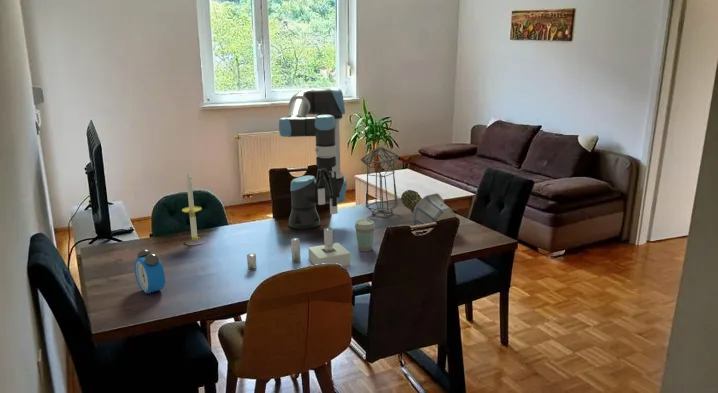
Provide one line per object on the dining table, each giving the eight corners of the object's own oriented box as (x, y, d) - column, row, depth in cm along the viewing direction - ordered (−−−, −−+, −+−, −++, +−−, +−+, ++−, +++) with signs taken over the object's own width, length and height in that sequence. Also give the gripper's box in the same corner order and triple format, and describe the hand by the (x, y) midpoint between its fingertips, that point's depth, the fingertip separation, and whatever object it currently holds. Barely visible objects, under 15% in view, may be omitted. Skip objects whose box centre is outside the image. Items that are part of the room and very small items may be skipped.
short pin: (247, 268, 222) (246, 254, 220) (255, 267, 223) (254, 252, 221) (249, 271, 219) (247, 257, 217) (257, 270, 220) (256, 255, 218)
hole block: (308, 259, 230) (308, 247, 229) (338, 253, 235) (338, 242, 234) (319, 270, 219) (319, 258, 217) (350, 264, 224) (350, 253, 222)
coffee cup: (373, 253, 236) (373, 225, 232) (353, 251, 237) (352, 224, 234) (376, 245, 244) (376, 219, 240) (357, 244, 245) (356, 218, 242)
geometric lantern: (387, 221, 276) (385, 151, 267) (360, 216, 285) (357, 148, 275) (403, 212, 289) (401, 145, 280) (377, 208, 298) (374, 143, 288)
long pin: (323, 261, 228) (322, 228, 224) (331, 259, 229) (330, 227, 225) (326, 264, 225) (325, 230, 221) (334, 262, 226) (333, 229, 222)
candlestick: (178, 244, 249) (170, 172, 240) (193, 237, 258) (186, 167, 249) (197, 247, 246) (190, 174, 237) (211, 239, 254) (204, 169, 246)
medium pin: (291, 261, 229) (289, 238, 226) (299, 259, 230) (298, 237, 227) (293, 263, 226) (292, 241, 223) (301, 262, 227) (300, 240, 224)
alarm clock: (136, 288, 206) (131, 249, 202) (152, 283, 210) (148, 245, 206) (151, 299, 196) (146, 259, 192) (168, 294, 200) (163, 254, 196)
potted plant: (464, 202, 254) (421, 175, 275) (434, 211, 244) (392, 182, 266) (457, 235, 262) (416, 206, 283) (428, 245, 253) (388, 214, 274)
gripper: (306, 150, 225) (308, 201, 231) (328, 163, 203) (330, 219, 209) (323, 149, 228) (325, 199, 234) (347, 161, 206) (348, 216, 212)
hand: (327, 209), depth 221 cm, fingers open, 13 cm apart
